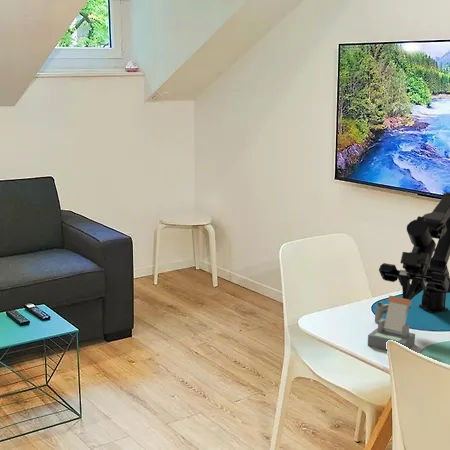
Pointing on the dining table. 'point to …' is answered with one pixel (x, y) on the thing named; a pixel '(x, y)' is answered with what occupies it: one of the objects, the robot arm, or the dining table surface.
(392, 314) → the toggle lever
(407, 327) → the breaker housing
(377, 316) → the caliper
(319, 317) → the dining table surface
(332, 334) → the dining table surface
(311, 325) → the dining table surface
